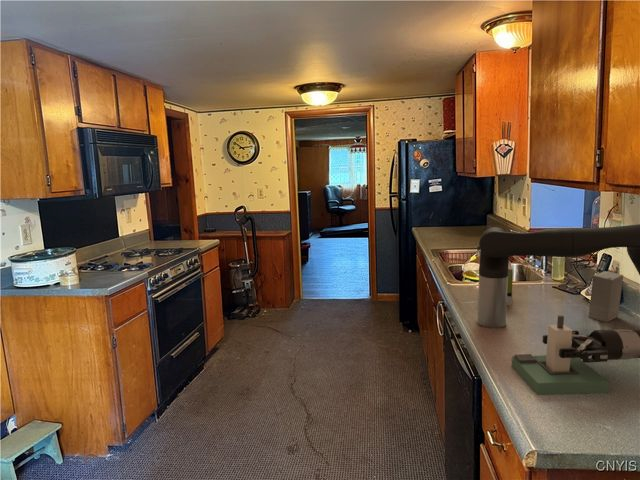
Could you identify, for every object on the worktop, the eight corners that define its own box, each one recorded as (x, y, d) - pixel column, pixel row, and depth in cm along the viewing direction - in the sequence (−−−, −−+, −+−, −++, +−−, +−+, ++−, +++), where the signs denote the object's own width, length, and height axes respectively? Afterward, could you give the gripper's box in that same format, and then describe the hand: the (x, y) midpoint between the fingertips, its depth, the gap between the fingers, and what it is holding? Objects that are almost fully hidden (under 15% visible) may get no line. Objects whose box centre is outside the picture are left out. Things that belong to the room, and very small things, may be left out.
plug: (545, 375, 118) (549, 313, 115) (560, 374, 118) (564, 313, 115) (552, 382, 114) (557, 319, 111) (568, 382, 114) (573, 318, 111)
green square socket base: (511, 366, 123) (512, 353, 123) (573, 364, 123) (574, 351, 123) (537, 394, 109) (538, 380, 108) (607, 392, 109) (609, 378, 108)
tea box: (484, 293, 189) (485, 258, 187) (509, 294, 186) (511, 260, 183) (484, 304, 176) (485, 267, 173) (512, 306, 172) (513, 268, 170)
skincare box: (599, 312, 162) (602, 270, 159) (620, 318, 156) (624, 274, 153) (586, 317, 158) (590, 274, 155) (608, 323, 152) (612, 278, 149)
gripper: (599, 320, 121) (538, 322, 121) (635, 341, 107) (567, 343, 107) (597, 346, 122) (537, 348, 122) (632, 371, 108) (565, 373, 108)
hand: (551, 346), depth 114 cm, fingers open, 8 cm apart
